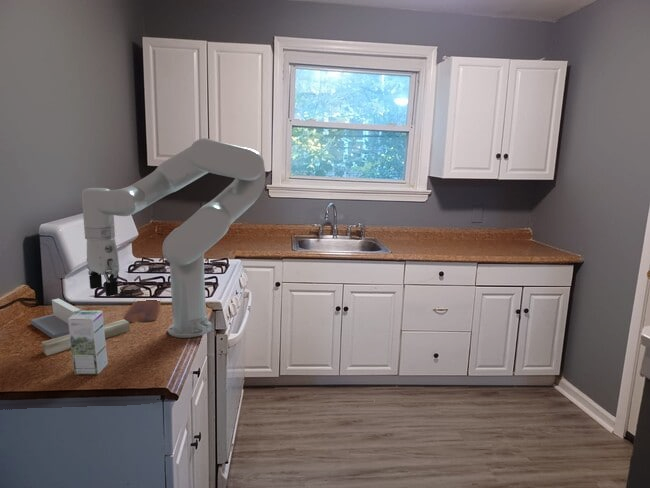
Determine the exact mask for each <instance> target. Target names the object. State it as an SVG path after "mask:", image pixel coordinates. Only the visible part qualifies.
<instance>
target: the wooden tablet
mask: <svg viewBox="0 0 650 488" xmlns="http://www.w3.org/2000/svg"><path fill="white" fill-rule="evenodd" d="M161 303H162V301H161V302H160V301H157V300H146V301H137V302H134V301H133V302H132V304H131V305H130V306H129V309H128V310H127V312H126V314H125V316H124V318H123V320H126V321H128V322H129V324H135V323H150V322H151V323H153V322H155V321H156V320H157V318H158V317H159V314H160V310H161Z"/></svg>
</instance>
